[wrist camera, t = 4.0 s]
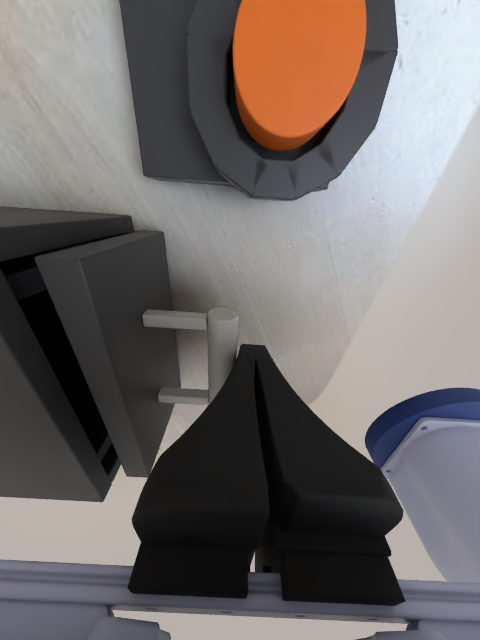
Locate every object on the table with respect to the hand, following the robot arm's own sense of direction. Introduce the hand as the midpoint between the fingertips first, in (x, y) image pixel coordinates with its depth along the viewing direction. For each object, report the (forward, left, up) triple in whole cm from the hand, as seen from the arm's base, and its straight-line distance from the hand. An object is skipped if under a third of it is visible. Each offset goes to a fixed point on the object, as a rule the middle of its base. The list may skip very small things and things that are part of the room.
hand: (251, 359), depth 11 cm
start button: (+10, 0, -1) cm, 11 cm away
